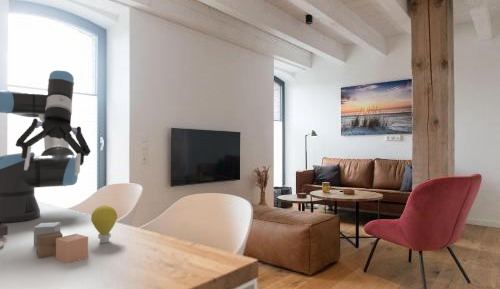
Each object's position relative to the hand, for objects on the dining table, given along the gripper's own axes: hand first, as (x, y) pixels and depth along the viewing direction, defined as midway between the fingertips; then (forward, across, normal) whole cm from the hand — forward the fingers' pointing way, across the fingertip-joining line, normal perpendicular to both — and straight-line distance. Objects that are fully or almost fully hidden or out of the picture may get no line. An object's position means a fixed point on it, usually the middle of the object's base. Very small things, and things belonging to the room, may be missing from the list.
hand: (52, 171), depth 105 cm
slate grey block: (+21, 0, 0) cm, 21 cm away
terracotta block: (+29, +3, -16) cm, 33 cm away
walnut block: (+27, 0, -9) cm, 28 cm away
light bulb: (+23, +13, -8) cm, 28 cm away
